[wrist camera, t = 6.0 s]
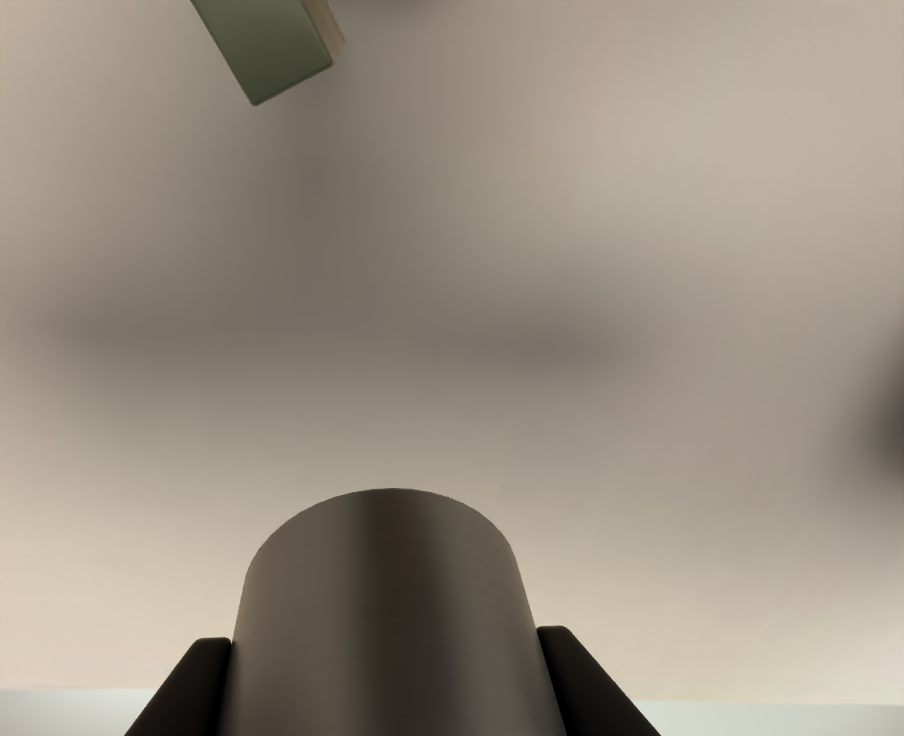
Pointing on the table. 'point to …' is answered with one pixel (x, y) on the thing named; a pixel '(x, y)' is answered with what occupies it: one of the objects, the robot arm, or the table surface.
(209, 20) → the drawer
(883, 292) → the table surface
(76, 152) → the table surface
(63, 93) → the table surface
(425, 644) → the cylinder
